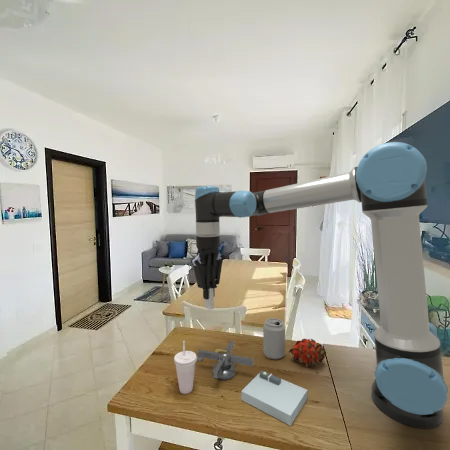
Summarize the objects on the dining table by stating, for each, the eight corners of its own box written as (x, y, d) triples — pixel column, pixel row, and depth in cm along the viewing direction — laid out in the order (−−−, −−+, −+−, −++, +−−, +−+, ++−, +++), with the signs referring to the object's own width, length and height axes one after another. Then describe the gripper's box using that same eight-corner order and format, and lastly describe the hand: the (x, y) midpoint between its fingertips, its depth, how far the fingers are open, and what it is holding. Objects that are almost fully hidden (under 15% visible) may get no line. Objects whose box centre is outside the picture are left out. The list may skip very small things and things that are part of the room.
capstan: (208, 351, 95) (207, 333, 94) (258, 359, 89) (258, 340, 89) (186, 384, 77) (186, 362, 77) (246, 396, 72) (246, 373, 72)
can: (285, 361, 88) (285, 327, 88) (262, 359, 90) (262, 325, 89) (284, 349, 96) (285, 317, 95) (263, 347, 97) (264, 316, 96)
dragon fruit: (329, 371, 86) (291, 372, 88) (323, 345, 92) (288, 346, 95) (329, 359, 81) (289, 360, 83) (323, 332, 87) (286, 334, 90)
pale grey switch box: (307, 398, 71) (307, 384, 71) (290, 425, 63) (290, 409, 62) (261, 378, 80) (261, 365, 80) (241, 399, 71) (241, 385, 71)
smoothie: (188, 378, 80) (187, 334, 79) (201, 389, 76) (201, 341, 75) (170, 389, 76) (169, 341, 75) (183, 400, 71) (182, 350, 70)
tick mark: (203, 359, 90) (203, 358, 90) (199, 361, 89) (199, 360, 89) (198, 357, 91) (198, 356, 91) (195, 359, 90) (195, 358, 90)
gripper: (214, 233, 91) (215, 299, 93) (184, 236, 82) (185, 310, 84) (230, 234, 86) (231, 305, 88) (200, 238, 77) (201, 317, 78)
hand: (209, 307), depth 86 cm, fingers closed
